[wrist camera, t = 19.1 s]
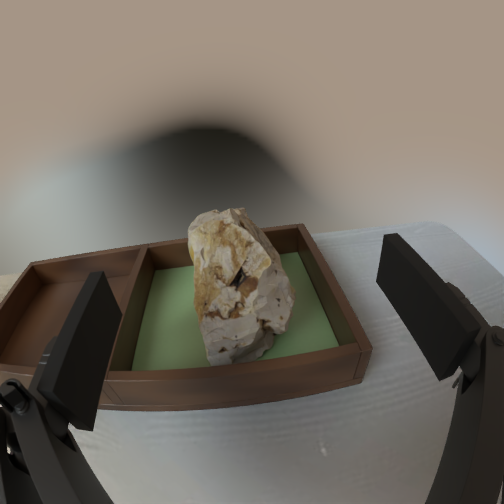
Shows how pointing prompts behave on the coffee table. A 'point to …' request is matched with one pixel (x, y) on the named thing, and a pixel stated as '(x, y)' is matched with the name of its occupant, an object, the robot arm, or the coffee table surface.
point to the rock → (237, 287)
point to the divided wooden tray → (187, 329)
